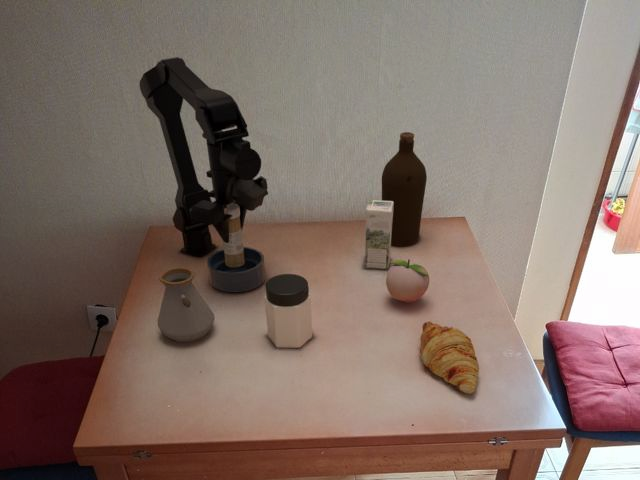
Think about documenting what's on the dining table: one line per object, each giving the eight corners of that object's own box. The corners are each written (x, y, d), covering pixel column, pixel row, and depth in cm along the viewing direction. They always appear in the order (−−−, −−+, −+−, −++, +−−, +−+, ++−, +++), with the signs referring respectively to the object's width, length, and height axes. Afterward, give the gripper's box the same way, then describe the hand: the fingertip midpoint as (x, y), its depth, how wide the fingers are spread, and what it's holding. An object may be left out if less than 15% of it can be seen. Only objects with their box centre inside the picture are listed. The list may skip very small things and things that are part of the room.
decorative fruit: (377, 307, 131) (379, 264, 124) (391, 289, 136) (394, 247, 130) (419, 316, 128) (424, 273, 121) (431, 298, 133) (436, 255, 127)
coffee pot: (156, 322, 128) (141, 256, 118) (210, 312, 131) (200, 247, 121) (171, 381, 113) (154, 312, 103) (231, 369, 116) (221, 299, 106)
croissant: (482, 409, 111) (509, 375, 106) (440, 399, 106) (466, 363, 101) (435, 344, 125) (456, 311, 121) (396, 332, 120) (417, 298, 116)
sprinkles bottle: (237, 257, 141) (231, 199, 132) (249, 264, 138) (243, 206, 129) (221, 263, 139) (213, 205, 129) (232, 270, 136) (225, 212, 127)
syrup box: (390, 259, 147) (394, 199, 137) (388, 270, 143) (391, 210, 133) (367, 257, 148) (368, 198, 138) (364, 269, 144) (365, 209, 134)
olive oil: (429, 239, 154) (440, 134, 137) (398, 252, 150) (405, 145, 133) (401, 225, 161) (408, 124, 144) (370, 237, 156) (374, 133, 139)
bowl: (199, 286, 139) (195, 265, 136) (232, 262, 147) (229, 242, 144) (244, 299, 134) (242, 278, 131) (276, 274, 143) (274, 254, 139)
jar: (318, 342, 122) (316, 289, 114) (280, 353, 119) (276, 299, 111) (299, 321, 128) (296, 268, 120) (263, 331, 125) (258, 278, 117)
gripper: (228, 188, 115) (237, 264, 125) (282, 157, 126) (286, 229, 137) (182, 178, 119) (195, 252, 129) (238, 148, 131) (245, 219, 141)
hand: (232, 238), depth 134 cm, fingers closed on sprinkles bottle, 4 cm apart
